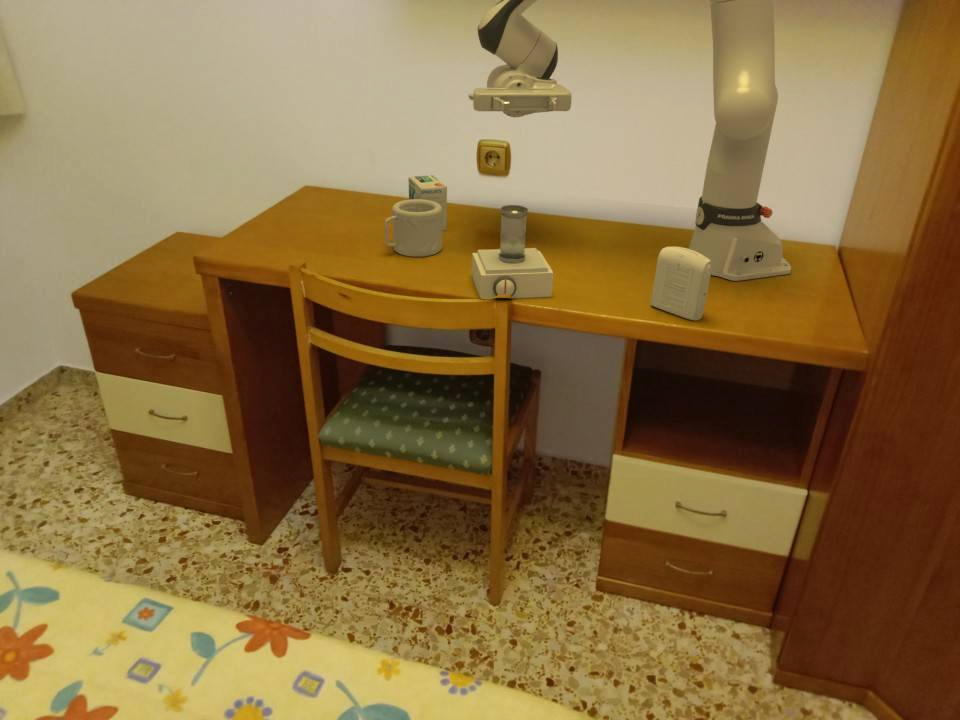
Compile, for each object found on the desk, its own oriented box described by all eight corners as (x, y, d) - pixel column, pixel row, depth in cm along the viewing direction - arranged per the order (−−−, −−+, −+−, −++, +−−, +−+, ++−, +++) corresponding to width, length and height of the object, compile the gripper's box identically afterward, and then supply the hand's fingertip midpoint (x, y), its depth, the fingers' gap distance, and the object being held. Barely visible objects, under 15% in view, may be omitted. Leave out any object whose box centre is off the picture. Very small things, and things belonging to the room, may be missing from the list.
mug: (425, 237, 174) (424, 195, 169) (451, 251, 167) (451, 208, 162) (373, 248, 167) (371, 205, 162) (398, 264, 159) (397, 218, 155)
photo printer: (706, 316, 140) (718, 253, 134) (695, 323, 137) (706, 260, 131) (658, 300, 146) (667, 239, 140) (646, 306, 143) (655, 245, 137)
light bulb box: (408, 219, 185) (407, 176, 180) (434, 217, 188) (434, 174, 182) (420, 233, 177) (420, 188, 172) (447, 230, 179) (448, 186, 174)
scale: (538, 273, 157) (539, 246, 154) (553, 298, 145) (555, 270, 142) (471, 275, 154) (472, 249, 152) (481, 301, 143) (482, 273, 140)
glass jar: (522, 253, 150) (524, 204, 145) (527, 263, 146) (530, 213, 141) (496, 254, 149) (498, 205, 145) (501, 263, 145) (503, 213, 140)
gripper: (467, 78, 157) (477, 90, 145) (562, 79, 160) (579, 90, 148) (466, 110, 160) (476, 123, 148) (560, 109, 163) (576, 123, 151)
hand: (528, 106), depth 148 cm, fingers open, 8 cm apart
